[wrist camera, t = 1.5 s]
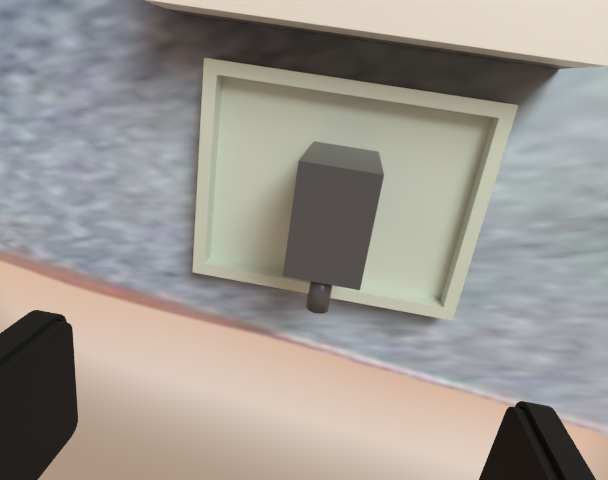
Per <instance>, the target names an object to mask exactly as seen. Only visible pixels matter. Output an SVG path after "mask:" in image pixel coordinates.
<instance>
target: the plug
mask: <svg viewBox="0 0 608 480" xmlns="http://www.w3.org/2000/svg"><path fill="white" fill-rule="evenodd" d="M383 178H384V172H383V168H382V164H381V159H380V155H379V152H378V151H372V150H365V149H359V148H353V147H347V146H341V145H335V144H328V143H322V142H316V141H314V142H313V143H312V144H311V146H310V147H309V148H308V149H307V151H306V152H305V153H304V154H303V156H302V157H301V158H300V159H299V161H298V168H297V175H296V183H295V190H294V197H293V205H292V212H291V219H290V227H289V234H288V241H287V249H286V256H285V263H284V271H283V276H285V277H290V278H295V279H301V280H306V281H310V286H309V292H308V298H307V305H306V307H307V309H308V310H309V311H311V312H314V313H325V312H327V311H328V306H329V301H330V295H331V290H332V285H334V286H339V287H344V288H350V289H355V290H360V287H361V283H362V278H363V273H364V268H365V264H366V259H367V254H368V249H369V245H370V240H371V235H372V230H373V226H374V221H375V216H376V211H377V207H378V202H379V197H380V192H381V188H382V183H383Z"/></svg>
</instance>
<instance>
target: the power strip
mask: <svg viewBox="0 0 608 480" xmlns="http://www.w3.org/2000/svg"><path fill="white" fill-rule="evenodd" d="M144 1H147V2H150V3H152V4H155V5H158V6H160V7H163V8H166V9H169V10H171V11H174V12H177V13H179V14H185V15H192V16H199V17H206V18H213V19H219V20H226V21H233V22H240V23H247V24H254V25H261V26H268V27H275V28H282V29H289V30H295V31H302V32H309V33H316V34H323V35H330V36H337V37H344V38H351V39H358V40H365V41H371V42H378V43H385V44H392V45H399V46H406V47H413V48H420V49H427V50H434V51H441V52H447V53H454V54H461V55H468V56H475V57H482V58H489V59H496V60H503V61H510V62H517V63H523V64H530V65H537V66H544V67H551V68H558V69H565V68H582V67H599V66H607V65H608V0H144Z"/></svg>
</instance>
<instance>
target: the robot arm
mask: <svg viewBox="0 0 608 480" xmlns="http://www.w3.org/2000/svg"><path fill="white" fill-rule="evenodd" d="M77 422H78V413H77V396H76V380H75V364H74V347H73V333H72V327H71V325H70V324H69V323H67V322H66V319H65V317H64V316H63V315H60V314H55V313H50V312H44V311H39V310H34V311H32V312H30V313H28V314H27V315H26V316H24V317H23V318H21V319H20V320H18V321H17V322H16V323H14V324H13V325H11V326H10V327H9V328H7V329H6V330H4V331H3V332H2V333H0V480H37V479H38V478H39V477H40V476H41V475H42V473H43V472H44V471H45V469H46V468H47V467H48V466H49V464H50V463H51V462H52V461H53V459H54V458H55V457H56V455H57V454H58V453H59V452H60V450H61V449H62V448H63V447H64V445H65V444H66V443H67V442H68V440H69V439H70V438H71V436H72V435H73V433H74V431H75V429H76V426H77ZM479 480H596V479H595V477H594V476H593V474H592V472H591V471H590V469H589V467H588V466H587V464H586V462H585V461H584V459H583V457H582V456H581V454H580V452H579V450H578V449H577V448H576V445H575V444H574V442H573V440H572V439H571V437H570V436H569V434H568V433H567V430H566V429H565V427H564V425H563V424H562V422H561V420H560V419H559V417H558V415H557V414H556V412H555V411H554V410H553V408H551V407H549V406H545V405H540V404H534V403H529V402H524V401H521V402H518V403H517V404H516V406H515V407H509V408H508V409H507V410H506V412H505V415H504V418H503V420H502V423H501V425H500V428H499V430H498V433H497V435H496V438H495V440H494V443H493V445H492V448H491V450H490V453H489V456H488V458H487V461H486V463H485V466H484V468H483V471H482V473H481V476H480V478H479Z"/></svg>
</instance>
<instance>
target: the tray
mask: <svg viewBox="0 0 608 480" xmlns="http://www.w3.org/2000/svg"><path fill="white" fill-rule="evenodd" d="M517 108H518V105H514V104H507V103H501V102H494V101H488V100H481V99H474V98H468V97H461V96H455V95H448V94H441V93H435V92H428V91H421V90H415V89H408V88H402V87H395V86H388V85H382V84H375V83H369V82H362V81H355V80H349V79H342V78H335V77H329V76H322V75H316V74H309V73H302V72H296V71H289V70H283V69H276V68H269V67H263V66H256V65H249V64H243V63H236V62H230V61H223V60H216V59H210V58H204V65H203V84H202V103H201V122H200V140H199V159H198V178H197V197H196V216H195V234H194V253H193V273H199V274H204V275H209V276H215V277H220V278H226V279H231V280H236V281H242V282H247V283H253V284H258V285H263V286H269V287H274V288H279V289H285V290H290V291H296V292H301V293H306V294H308V292H309V286H310V281H306V280H301V279H295V278H290V277H285V276H283V271H284V263H285V256H286V249H287V241H288V234H289V227H290V219H291V212H292V205H293V197H294V190H295V183H296V175H297V168H298V161H299V159H300V158H301V157H302V156H303V154H304V153H305V152H306V151H307V149H308V148H309V147H310V146H311V144H312V143H313V142H314V141H316V142H322V143H328V144H335V145H341V146H347V147H353V148H359V149H365V150H372V151H378V152H379V155H380V159H381V164H382V168H383V172H384V178H383V183H382V188H381V192H380V197H379V202H378V207H377V211H376V216H375V221H374V226H373V230H372V235H371V240H370V245H369V249H368V254H367V259H366V264H365V268H364V273H363V278H362V283H361V287H360V290H355V289H350V288H344V287H339V286H334V285H332V290H331V295H330V298H333V299H339V300H344V301H349V302H355V303H360V304H366V305H371V306H376V307H382V308H387V309H393V310H398V311H403V312H409V313H414V314H420V315H425V316H430V317H436V318H441V319H446V320H452V321H453V318H454V315H455V311H456V308H457V305H458V301H459V298H460V295H461V292H462V288H463V285H464V282H465V279H466V275H467V272H468V269H469V265H470V262H471V259H472V256H473V252H474V249H475V246H476V243H477V239H478V236H479V233H480V229H481V226H482V223H483V220H484V216H485V213H486V210H487V207H488V203H489V200H490V197H491V193H492V190H493V187H494V184H495V180H496V177H497V174H498V171H499V167H500V164H501V161H502V157H503V154H504V151H505V148H506V144H507V141H508V138H509V135H510V131H511V128H512V125H513V121H514V118H515V115H516V112H517Z"/></svg>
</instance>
